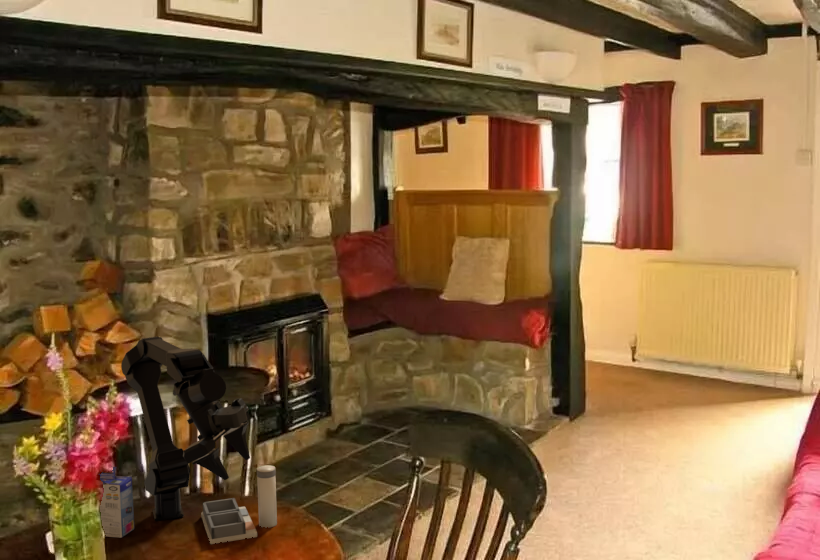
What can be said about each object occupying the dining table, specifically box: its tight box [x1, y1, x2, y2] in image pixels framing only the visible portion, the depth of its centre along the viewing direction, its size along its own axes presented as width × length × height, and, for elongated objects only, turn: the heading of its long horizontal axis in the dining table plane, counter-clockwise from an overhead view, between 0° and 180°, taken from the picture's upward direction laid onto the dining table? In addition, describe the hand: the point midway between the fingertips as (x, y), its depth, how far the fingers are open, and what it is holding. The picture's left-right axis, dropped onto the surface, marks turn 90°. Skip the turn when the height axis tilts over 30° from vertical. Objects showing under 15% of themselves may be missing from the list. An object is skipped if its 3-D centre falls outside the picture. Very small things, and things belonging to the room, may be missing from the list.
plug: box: [256, 464, 278, 529], centre depth 192 cm, size 4×4×13 cm
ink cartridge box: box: [99, 466, 135, 539], centre depth 188 cm, size 10×6×14 cm, turn 78°
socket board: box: [200, 497, 258, 545], centre depth 191 cm, size 15×10×4 cm, turn 20°
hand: (237, 468), depth 184 cm, fingers open, 9 cm apart
